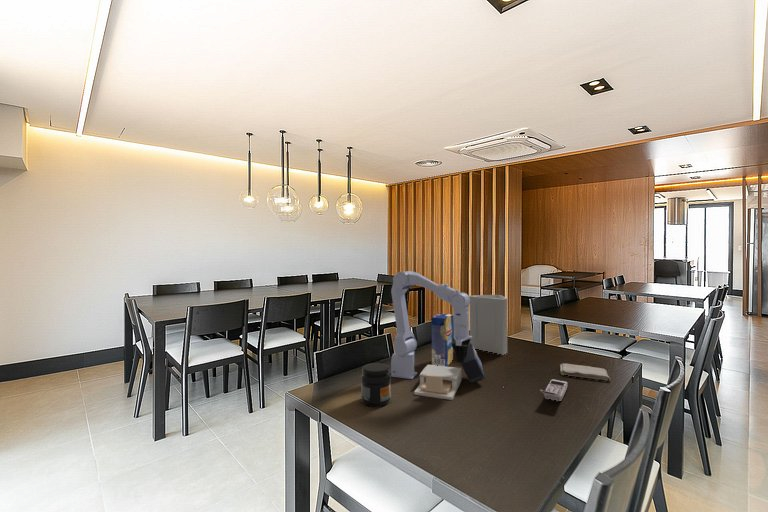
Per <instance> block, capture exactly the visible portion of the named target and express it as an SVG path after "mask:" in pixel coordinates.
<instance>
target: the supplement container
mask: <svg viewBox="0 0 768 512" xmlns="http://www.w3.org/2000/svg"><path fill="white" fill-rule="evenodd" d="M361 372H362V375H361V376H360V384H361V386H360V388H361V389H360V390H361V393H360V395H361V396H360V400H361V402H362V403H363V404H364V405H366V406H368V405H369V407H381V406H382V407H383V406H385V405H388V404H389V403H390V401H391V399H392V395H391V393H392V391H391V386H392V385H391V381H392V379H391V378H392V377H391V374H390V367H389V365H388V364H385V363H381V362H374V363H367V364H365V365H363V366H362V368H361Z"/></svg>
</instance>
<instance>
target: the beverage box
mask: <svg viewBox="0 0 768 512" xmlns="http://www.w3.org/2000/svg"><path fill="white" fill-rule="evenodd" d="M453 335H454V322H453V314H450V313H449V314H448V313H437V314H435V315H433V316H432V317H431V365H438V366H446V367H449V365H450V364H451V363H452V362H453V361H454V353H453V352H454V349H453V347H452V343H454V338H453ZM452 360H453V361H452Z"/></svg>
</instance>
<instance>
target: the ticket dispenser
mask: <svg viewBox="0 0 768 512" xmlns="http://www.w3.org/2000/svg"><path fill="white" fill-rule="evenodd" d="M462 373H463V372H462V367H455V366H447V367H446V366H437V365H432V364H427V365H426V366H425V367H424V368H423V369H422V371H421V372H420V374H418V376H419V385H418V386H417V388H416V389H415V390H414V392H413V395H416V396H423V397H430V398H435V399H442V400H449V401H453V400H454V398H455V395H456V393H457V391H458V388H459V387H460V385H461V382H462V380H463V379H462ZM426 375H434V376H442V377H443V380H450V381H452V386H451V388H450V390H449V392H448V393H443V392H442V393H439V392H432V391H426V390H421V386H422V385H423V384H424V382H425V381H426Z"/></svg>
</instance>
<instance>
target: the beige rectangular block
mask: <svg viewBox="0 0 768 512" xmlns="http://www.w3.org/2000/svg"><path fill="white" fill-rule="evenodd" d="M451 386H452V381H450V380H443V377H442V376H434V375H426V381H425V382H424V384H423V385H422V386H421V390H426V391H432V392H439V393H442V392H443V393H448V392H449V390H450V388H451Z"/></svg>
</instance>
